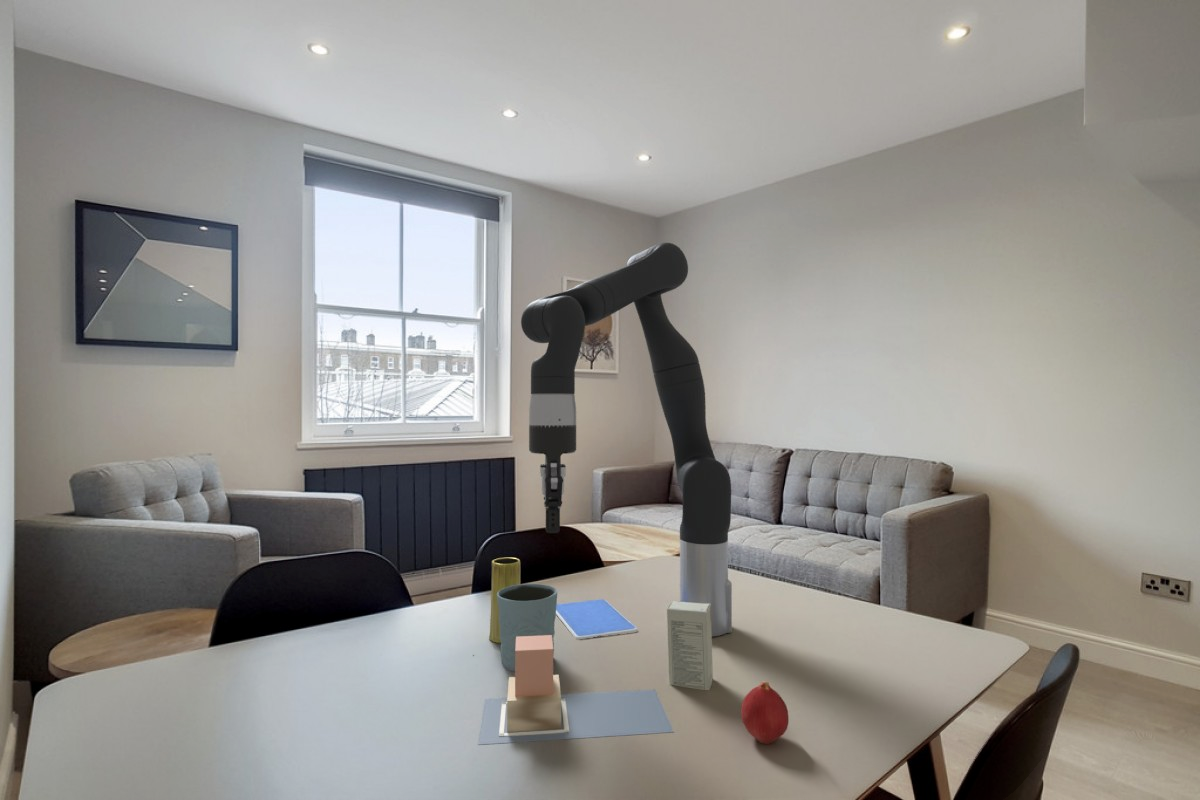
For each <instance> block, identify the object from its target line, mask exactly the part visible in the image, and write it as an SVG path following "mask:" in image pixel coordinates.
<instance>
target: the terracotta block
mask: <svg viewBox="0 0 1200 800" xmlns="http://www.w3.org/2000/svg"><path fill="white" fill-rule="evenodd" d="M514 674H515V675H514V677H515V697H520V696H537V695H553V675H554V656H553V642H552V635H542V636H519V637H516V646H515V671H514Z"/></svg>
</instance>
